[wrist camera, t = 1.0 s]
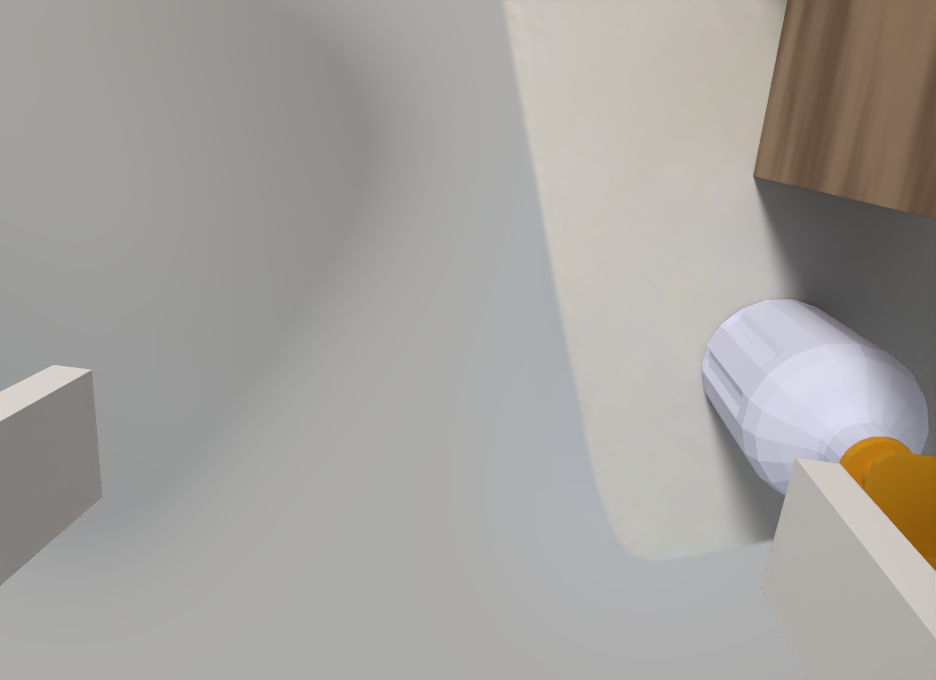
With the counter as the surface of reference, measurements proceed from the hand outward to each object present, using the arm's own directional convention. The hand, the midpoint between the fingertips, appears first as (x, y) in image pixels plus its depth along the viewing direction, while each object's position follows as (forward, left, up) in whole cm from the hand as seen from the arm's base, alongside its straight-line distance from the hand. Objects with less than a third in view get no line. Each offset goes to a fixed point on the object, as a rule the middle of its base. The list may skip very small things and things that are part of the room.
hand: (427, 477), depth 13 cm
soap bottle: (+4, +19, -33) cm, 38 cm away
